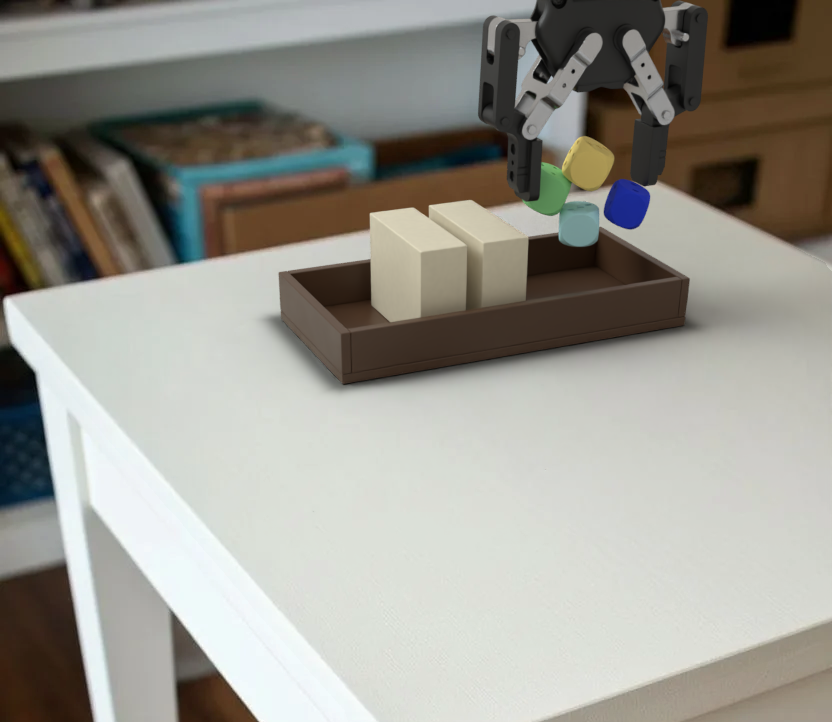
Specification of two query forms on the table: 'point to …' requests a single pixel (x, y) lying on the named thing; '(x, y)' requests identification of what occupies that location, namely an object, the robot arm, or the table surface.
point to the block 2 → (486, 253)
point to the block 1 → (415, 266)
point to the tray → (485, 310)
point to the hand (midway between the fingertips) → (585, 190)
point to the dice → (588, 172)
